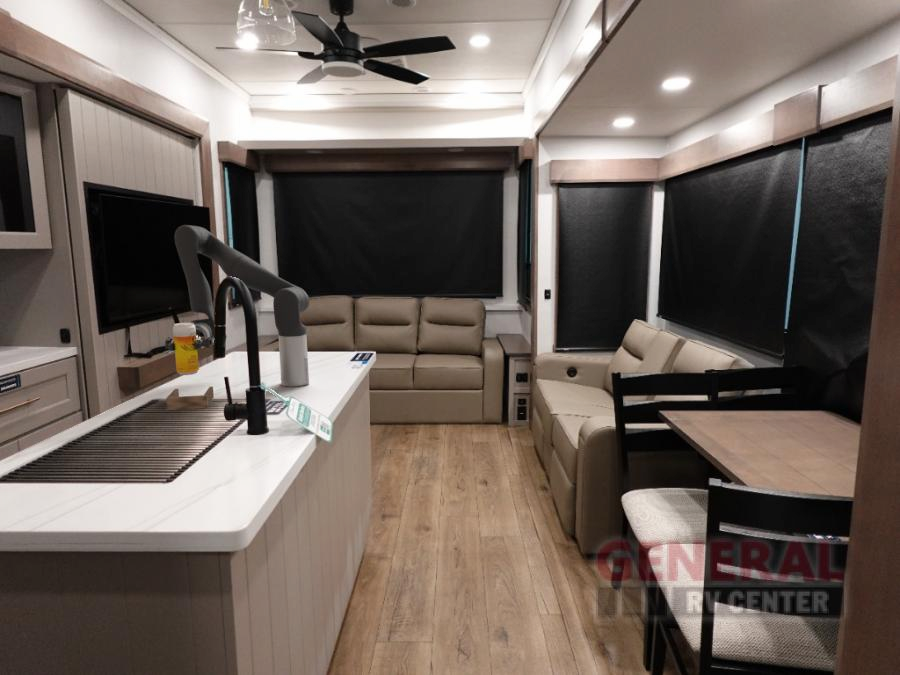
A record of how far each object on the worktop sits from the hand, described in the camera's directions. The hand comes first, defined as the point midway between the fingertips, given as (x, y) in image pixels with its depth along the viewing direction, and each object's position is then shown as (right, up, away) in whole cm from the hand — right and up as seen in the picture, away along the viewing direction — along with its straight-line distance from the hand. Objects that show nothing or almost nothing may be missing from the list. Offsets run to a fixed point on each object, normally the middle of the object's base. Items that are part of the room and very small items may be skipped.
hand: (184, 347), depth 161 cm
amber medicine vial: (-1, -8, +4) cm, 9 cm away
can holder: (0, -17, +5) cm, 18 cm away
